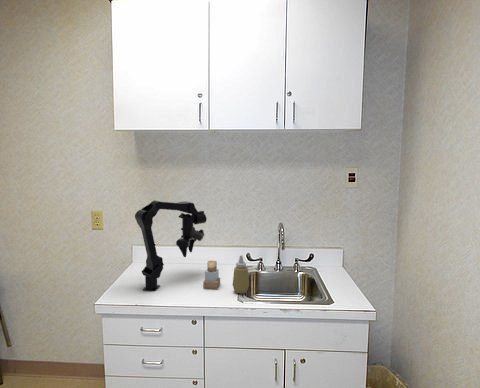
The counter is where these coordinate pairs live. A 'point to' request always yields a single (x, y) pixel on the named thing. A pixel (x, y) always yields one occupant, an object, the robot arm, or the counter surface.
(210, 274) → the blue-grey square block
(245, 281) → the squeeze bottle
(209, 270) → the tan wooden cylinder
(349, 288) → the counter surface
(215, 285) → the walnut base block
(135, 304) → the counter surface
